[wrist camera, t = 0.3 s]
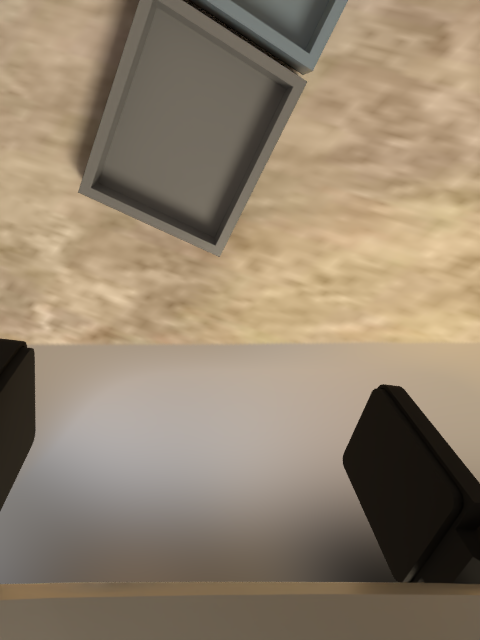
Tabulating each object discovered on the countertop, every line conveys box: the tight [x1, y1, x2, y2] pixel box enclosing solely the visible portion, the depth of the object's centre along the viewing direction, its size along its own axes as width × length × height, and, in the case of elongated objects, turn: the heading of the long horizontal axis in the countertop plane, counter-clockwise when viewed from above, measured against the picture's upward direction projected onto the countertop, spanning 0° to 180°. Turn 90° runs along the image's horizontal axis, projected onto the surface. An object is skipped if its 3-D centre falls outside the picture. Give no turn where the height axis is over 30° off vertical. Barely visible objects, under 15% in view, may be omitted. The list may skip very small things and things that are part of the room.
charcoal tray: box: [78, 0, 307, 257], centre depth 32 cm, size 13×16×3 cm
